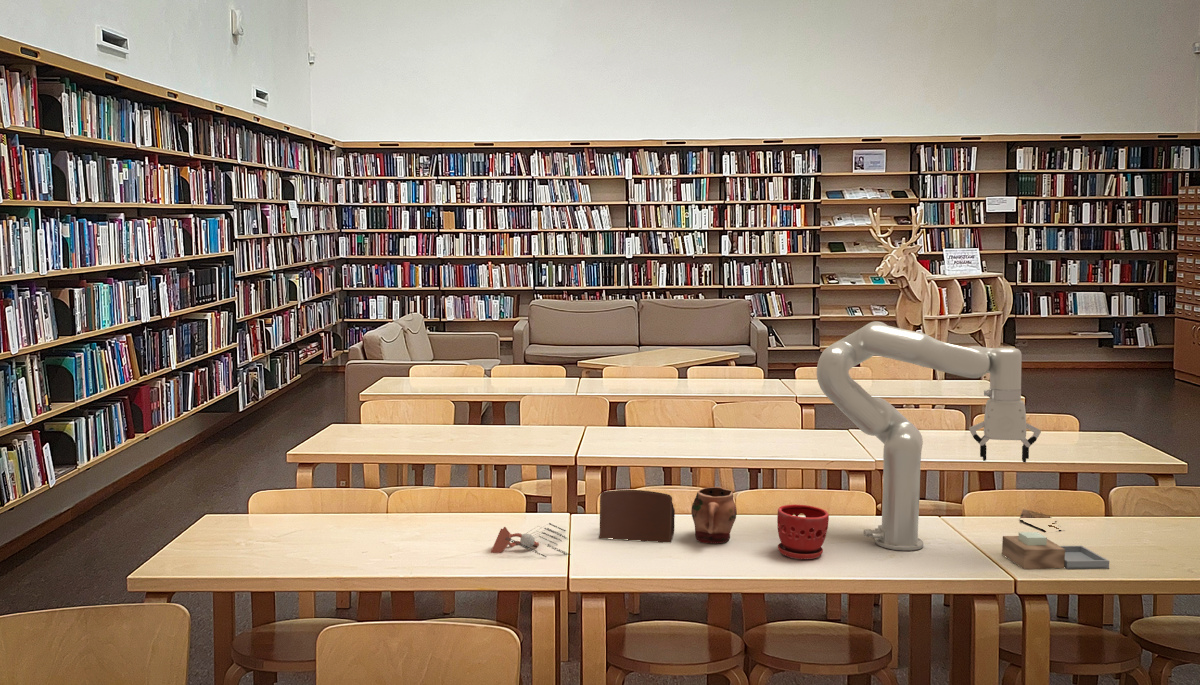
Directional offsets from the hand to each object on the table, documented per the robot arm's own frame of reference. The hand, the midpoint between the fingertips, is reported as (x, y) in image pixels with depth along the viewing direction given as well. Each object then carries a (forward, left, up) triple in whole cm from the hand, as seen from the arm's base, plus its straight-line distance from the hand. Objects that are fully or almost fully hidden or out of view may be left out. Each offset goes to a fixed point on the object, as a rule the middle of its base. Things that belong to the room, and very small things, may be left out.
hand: (1004, 460), depth 267 cm
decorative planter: (-73, +15, -25) cm, 79 cm away
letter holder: (-93, +21, -26) cm, 99 cm away
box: (+17, -6, -25) cm, 31 cm away
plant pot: (-52, +2, -25) cm, 58 cm away
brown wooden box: (+6, -6, -25) cm, 27 cm away
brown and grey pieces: (-120, +15, -26) cm, 124 cm away
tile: (+6, -6, -20) cm, 22 cm away
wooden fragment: (+27, +32, -26) cm, 49 cm away
